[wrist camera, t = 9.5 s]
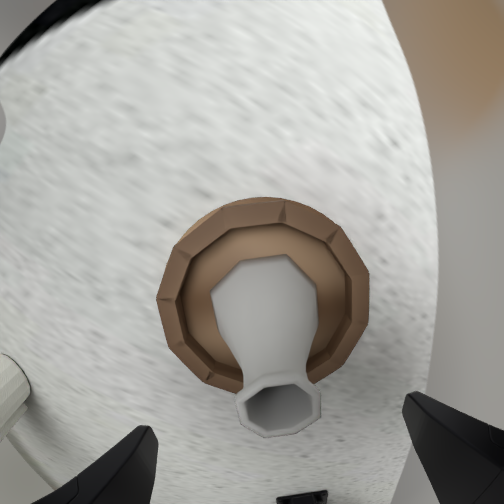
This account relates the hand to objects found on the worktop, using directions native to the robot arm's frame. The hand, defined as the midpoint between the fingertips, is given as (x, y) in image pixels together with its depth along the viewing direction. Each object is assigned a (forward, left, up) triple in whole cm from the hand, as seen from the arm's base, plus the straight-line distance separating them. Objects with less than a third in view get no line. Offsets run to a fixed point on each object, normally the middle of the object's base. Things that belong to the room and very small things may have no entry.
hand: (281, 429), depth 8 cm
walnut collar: (0, 0, -12) cm, 12 cm away
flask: (0, 0, -11) cm, 11 cm away
